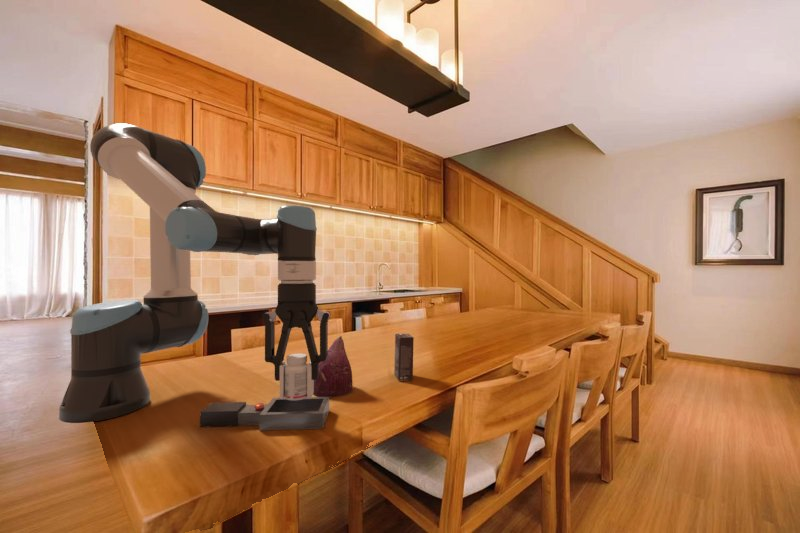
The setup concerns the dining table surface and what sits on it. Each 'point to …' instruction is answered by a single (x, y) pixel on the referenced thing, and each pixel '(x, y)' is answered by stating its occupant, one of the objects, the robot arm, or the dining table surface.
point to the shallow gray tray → (268, 414)
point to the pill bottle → (296, 377)
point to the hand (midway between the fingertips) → (296, 395)
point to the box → (403, 357)
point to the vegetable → (334, 373)
